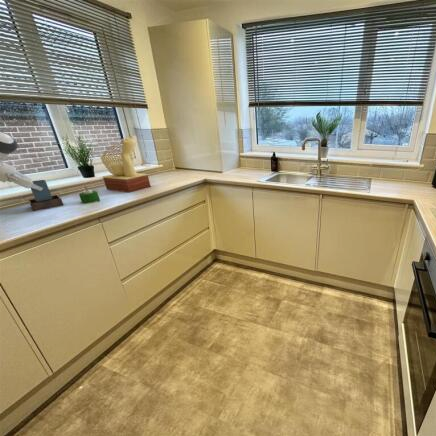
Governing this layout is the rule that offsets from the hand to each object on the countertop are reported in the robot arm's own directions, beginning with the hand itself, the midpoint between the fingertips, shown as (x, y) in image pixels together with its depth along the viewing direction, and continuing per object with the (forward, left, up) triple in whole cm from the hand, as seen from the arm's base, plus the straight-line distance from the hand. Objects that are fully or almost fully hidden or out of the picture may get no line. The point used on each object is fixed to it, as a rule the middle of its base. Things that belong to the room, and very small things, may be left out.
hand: (41, 188), depth 129 cm
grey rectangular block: (-1, 0, -6) cm, 6 cm away
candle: (+18, -6, -11) cm, 22 cm away
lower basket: (-1, 0, -11) cm, 11 cm away
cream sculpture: (+40, +15, -11) cm, 45 cm away
